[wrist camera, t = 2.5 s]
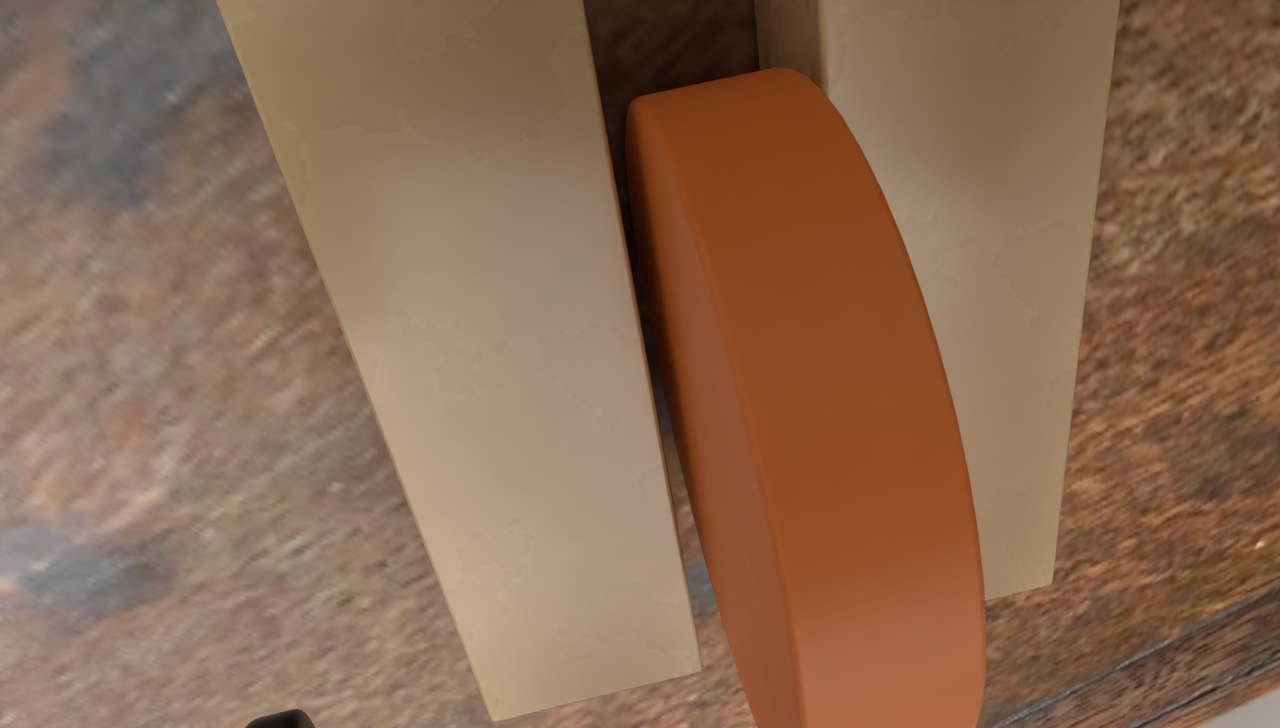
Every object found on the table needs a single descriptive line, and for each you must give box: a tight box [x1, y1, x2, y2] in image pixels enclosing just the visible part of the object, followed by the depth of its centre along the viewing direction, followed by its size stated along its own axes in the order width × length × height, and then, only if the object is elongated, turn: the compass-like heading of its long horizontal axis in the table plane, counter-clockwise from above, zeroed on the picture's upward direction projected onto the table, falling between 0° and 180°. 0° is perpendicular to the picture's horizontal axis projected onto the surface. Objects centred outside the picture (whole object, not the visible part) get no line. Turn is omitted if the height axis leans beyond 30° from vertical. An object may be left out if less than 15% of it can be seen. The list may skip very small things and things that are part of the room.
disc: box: [625, 68, 987, 728], centre depth 11 cm, size 2×7×7 cm, turn 9°
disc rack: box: [215, 0, 1120, 722], centre depth 13 cm, size 8×10×2 cm
